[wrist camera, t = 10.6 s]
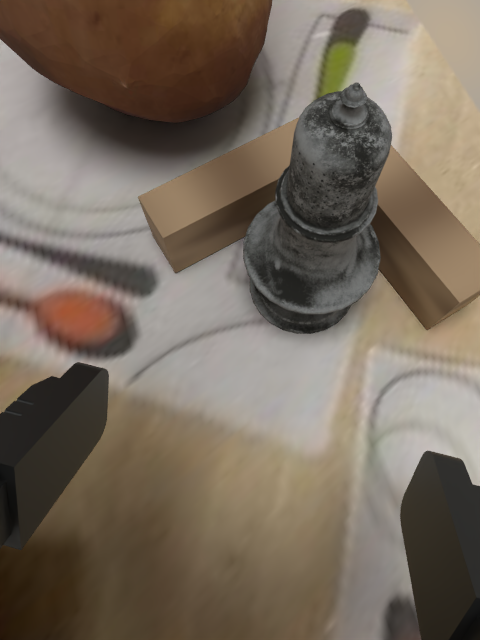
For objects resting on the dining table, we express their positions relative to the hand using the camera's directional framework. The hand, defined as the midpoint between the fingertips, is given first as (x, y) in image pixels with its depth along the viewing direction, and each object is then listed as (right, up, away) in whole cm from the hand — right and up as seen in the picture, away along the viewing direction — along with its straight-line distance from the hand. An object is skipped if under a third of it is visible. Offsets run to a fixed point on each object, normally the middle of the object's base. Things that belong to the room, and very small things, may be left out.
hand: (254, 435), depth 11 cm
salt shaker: (+3, +5, +11) cm, 13 cm away
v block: (+4, +8, +12) cm, 15 cm away
